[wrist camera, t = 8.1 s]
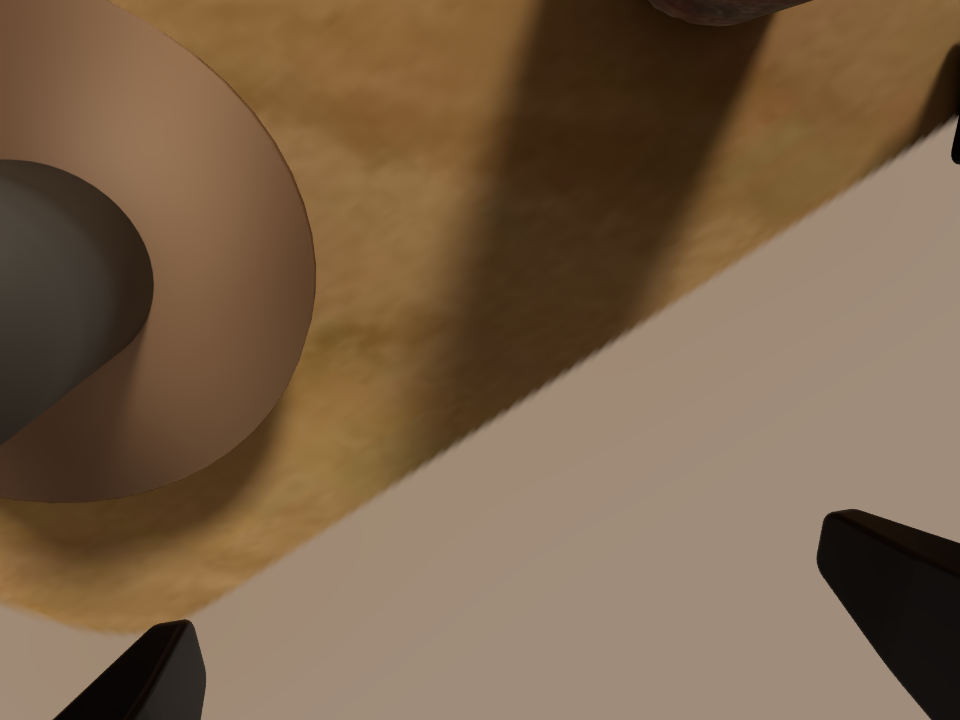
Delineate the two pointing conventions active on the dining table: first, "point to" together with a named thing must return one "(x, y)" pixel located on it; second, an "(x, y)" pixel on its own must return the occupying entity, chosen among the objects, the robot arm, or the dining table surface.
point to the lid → (135, 257)
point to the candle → (721, 10)
